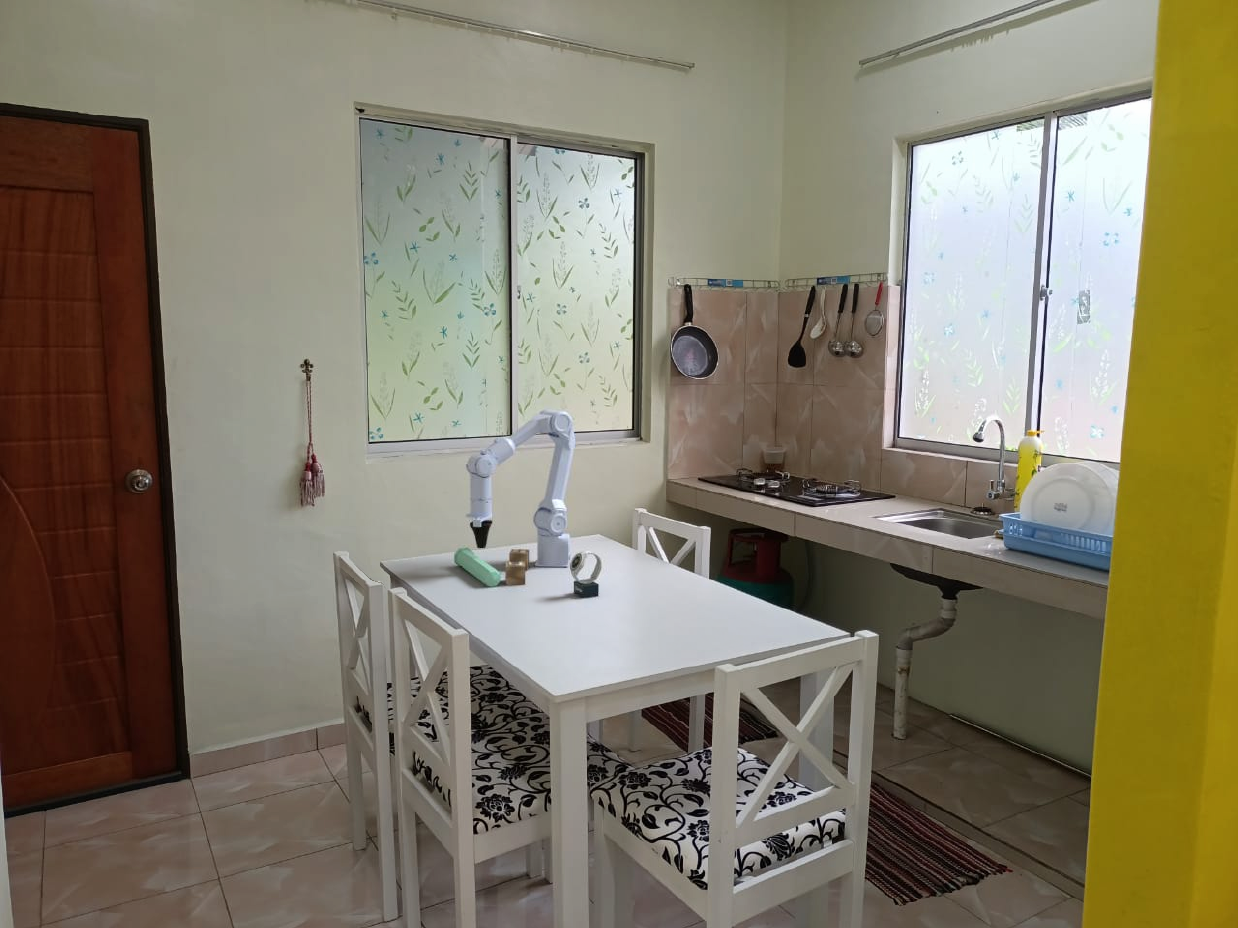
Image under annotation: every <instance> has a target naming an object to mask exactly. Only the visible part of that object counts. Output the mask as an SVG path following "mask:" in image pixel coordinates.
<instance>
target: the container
mask: <svg viewBox="0 0 1238 928" xmlns="http://www.w3.org/2000/svg"><path fill="white" fill-rule="evenodd" d="M453 563H454V564H456V565H457V566H458V567H459V566H462V567H461V568H463V569H464V570H465V571H467V572H468V573H470V574H471V575H472V576H473V577H475V578H476V579H477V580H479V581H480V583H483V584H484V585H485V586H487V587H488V588H490V587H492V588H493V587H497V586H498V585H499V583H500V582H501V573H500V572H499V570H497V569H496V568H495V567H493V566H492V565H490V564H489V563H488V562H486V561H485V560H483V559H482V558H480V557H479V556H478V555H476V554H475V553H474V552H473V551H472V549H470V548H468V547H460V548H458V550H456V552H455V553H454V554H453Z"/></svg>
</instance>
